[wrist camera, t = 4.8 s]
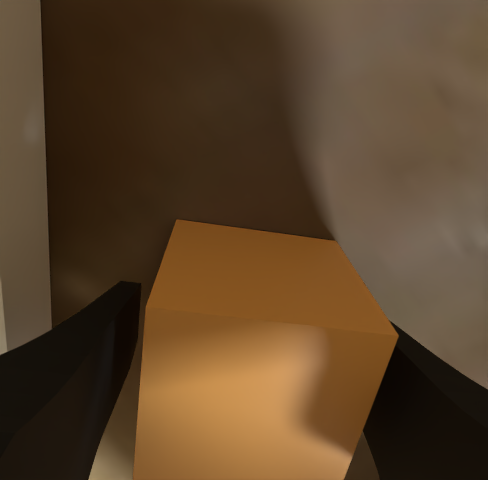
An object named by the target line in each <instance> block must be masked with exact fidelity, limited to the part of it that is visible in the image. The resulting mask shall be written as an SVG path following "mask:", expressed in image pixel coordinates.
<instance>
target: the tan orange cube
mask: <svg viewBox="0 0 488 480" xmlns="http://www.w3.org/2000/svg"><path fill="white" fill-rule="evenodd" d="M398 337H399V335H398V334H397V332H396V331H395V329H394V328H393V326H392V325H391V323H390V322H389V320H388V318H387V317H386V315H385V314H384V312H383V311H382V309H381V308H380V306H379V305H378V303H377V302H376V300H375V299H374V297H373V296H372V294H371V293H370V291H369V290H368V288H367V287H366V285H365V284H364V282H363V281H362V279H361V278H360V276H359V275H358V273H357V272H356V270H355V269H354V267H353V266H352V264H351V263H350V261H349V260H348V258H347V257H346V255H345V254H344V252H343V250H342V249H341V247H340V246H339V244H338V243H337V241H332V240H325V239H318V238H310V237H303V236H296V235H288V234H281V233H274V232H266V231H259V230H252V229H245V228H237V227H230V226H223V225H215V224H208V223H201V222H193V221H186V220H179V219H176V222H175V225H174V228H173V231H172V234H171V236H170V239H169V242H168V245H167V248H166V251H165V254H164V256H163V259H162V262H161V265H160V268H159V271H158V274H157V276H156V279H155V282H154V285H153V288H152V291H151V294H150V296H149V299H148V302H147V305H146V311H145V324H144V338H143V351H142V364H141V377H140V391H139V404H138V417H137V430H136V444H135V457H134V470H133V480H344V478H345V475H346V473H347V470H348V467H349V465H350V462H351V459H352V457H353V454H354V452H355V449H356V446H357V444H358V441H359V439H360V436H361V433H362V431H363V428H364V425H365V423H366V420H367V418H368V415H369V412H370V410H371V407H372V405H373V402H374V399H375V397H376V394H377V392H378V389H379V386H380V384H381V381H382V378H383V376H384V373H385V371H386V368H387V365H388V363H389V360H390V358H391V355H392V352H393V350H394V347H395V344H396V342H397V339H398Z"/></svg>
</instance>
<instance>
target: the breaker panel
mask: <svg viewBox="0 0 488 480" xmlns="http://www.w3.org/2000/svg"><path fill="white" fill-rule="evenodd" d="M51 329H52V320H51V291H50V262H49V234H48V205H47V176H46V148H45V119H44V91H43V62H42V33H41V5H40V0H0V355H1V354H3V353H6V352H8V351H10V350H13V349H15V348H17V347H19V346H21V345H23V344H25V343H27V342H29V341H31V340H33V339H35V338H37V337H39V336H41V335H43V334H44V333H46V332H48V331H50V330H51Z"/></svg>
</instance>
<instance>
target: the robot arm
mask: <svg viewBox="0 0 488 480" xmlns="http://www.w3.org/2000/svg"><path fill="white" fill-rule="evenodd" d="M140 296H141V283H134V282H126V281H120V282H119V283H117V284H116V285H115V286H113V287H112V288H111V289H109V290H108V291H107V292H105V293H104V294H103V295H101V296H100V297H99V298H97V299H96V300H95V301H93V302H92V303H91V304H89V305H88V306H86V307H85V308H84V309H82V310H81V311H80V312H78V313H77V314H75V315H74V316H72V317H70V318H69V319H67V320H66V321H64V322H63V323H61V324H60V325H58V326H56V327H55V328H53V329H51V330H50V331H48V332H46V333H44V334H43V335H41V336H39V337H37V338H35V339H33V340H31V341H29V342H27V343H25V344H23V345H21V346H19V347H17V348H15V349H13V350H10V351H8V352H6V353H3V354H1V355H0V480H88V479H89V475H90V472H91V469H92V465H93V462H94V459H95V455H96V452H97V449H98V446H99V443H100V441H101V438H102V435H103V433H104V430H105V428H106V425H107V423H108V420H109V418H110V416H111V413H112V411H113V408H114V406H115V403H116V401H117V398H118V396H119V394H120V391H121V389H122V386H123V384H124V381H125V379H126V376H127V374H128V371H129V369H130V365H131V362H132V358H133V354H134V351H135V347H136V343H137V339H138V325H139V311H140ZM389 322H390V323H391V325H392V326H393V328H394V329H395V331H396V332H397V334H398V335H399V337H398V339H397V342H396V344H395V347H394V350H393V352H392V355H391V358H390V360H389V363H388V365H387V368H386V371H385V373H384V376H383V378H382V381H381V384H380V386H379V389H378V392H377V394H376V397H375V399H374V402H373V405H372V407H371V410H370V412H369V415H368V418H367V420H366V423H365V425H364V428H363V432H364V435H365V437H366V440H367V442H368V445H369V448H370V450H371V453H372V455H373V458H374V461H375V464H376V467H377V470H378V473H379V477H380V480H488V390H487V389H486V388H484V387H482V386H481V385H479V384H477V383H476V382H474V381H473V380H471V379H469V378H468V377H466V376H465V375H463V374H462V373H460V372H459V371H457V370H456V369H454V368H453V367H452V366H450V365H449V364H447V363H446V362H444V361H443V360H441V359H440V358H439V357H437V356H436V355H434V354H433V353H432V352H430V351H429V350H428V349H426V348H425V347H424V346H422V345H421V344H420V343H418V342H417V341H416V340H414V339H413V338H412V337H411V336H409V335H408V334H407V333H405V332H404V331H403V330H401V329H400V328H399V327H397V326H396V325H395V324H394V323H392V322H391V321H389Z"/></svg>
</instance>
